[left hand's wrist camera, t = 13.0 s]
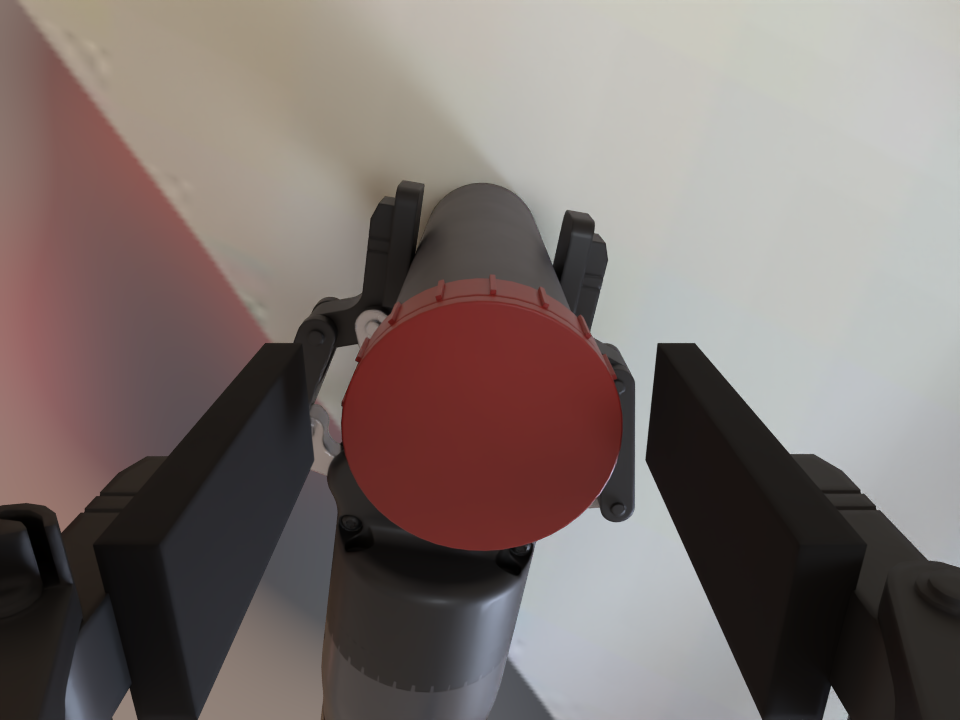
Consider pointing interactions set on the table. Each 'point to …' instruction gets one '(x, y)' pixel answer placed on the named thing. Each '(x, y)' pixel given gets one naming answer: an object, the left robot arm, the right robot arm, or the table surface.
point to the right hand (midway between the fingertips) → (495, 202)
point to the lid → (482, 415)
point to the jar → (481, 243)
